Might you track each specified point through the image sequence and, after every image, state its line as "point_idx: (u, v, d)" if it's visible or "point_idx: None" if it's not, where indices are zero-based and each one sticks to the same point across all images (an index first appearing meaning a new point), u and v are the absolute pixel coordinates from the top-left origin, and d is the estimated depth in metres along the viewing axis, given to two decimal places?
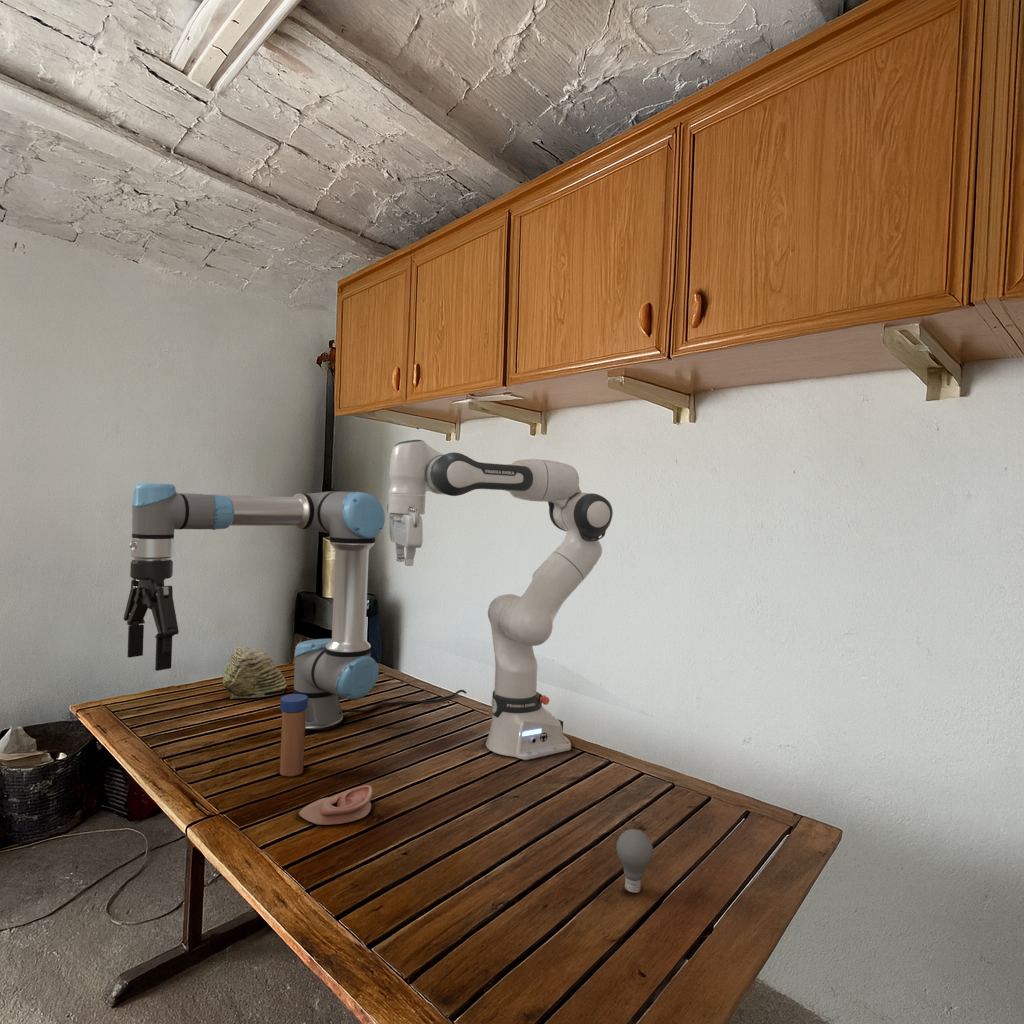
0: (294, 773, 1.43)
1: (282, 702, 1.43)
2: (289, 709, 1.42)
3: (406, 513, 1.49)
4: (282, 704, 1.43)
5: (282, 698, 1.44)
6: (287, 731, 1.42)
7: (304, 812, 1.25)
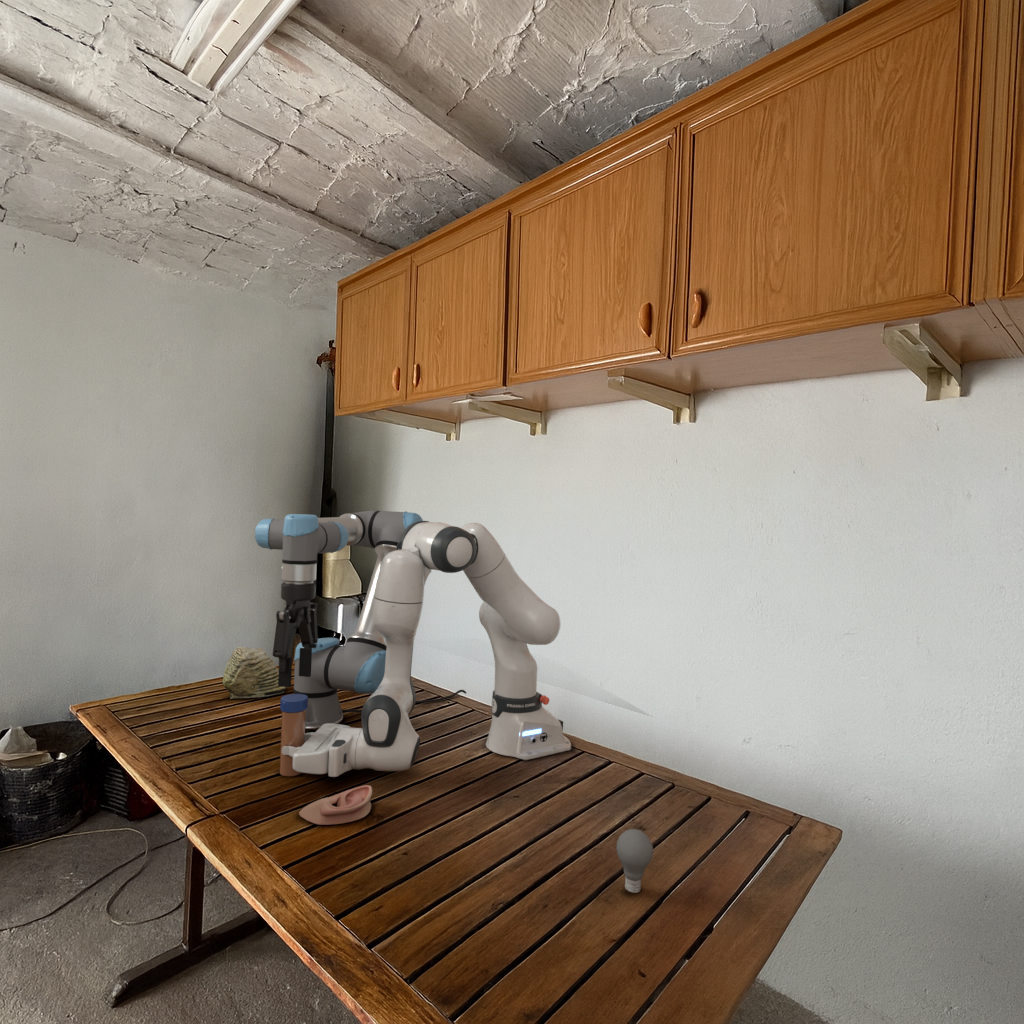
0: (294, 773, 1.43)
1: (282, 702, 1.43)
2: (289, 709, 1.42)
3: None
4: (282, 704, 1.43)
5: (282, 698, 1.44)
6: (287, 731, 1.43)
7: (304, 812, 1.25)
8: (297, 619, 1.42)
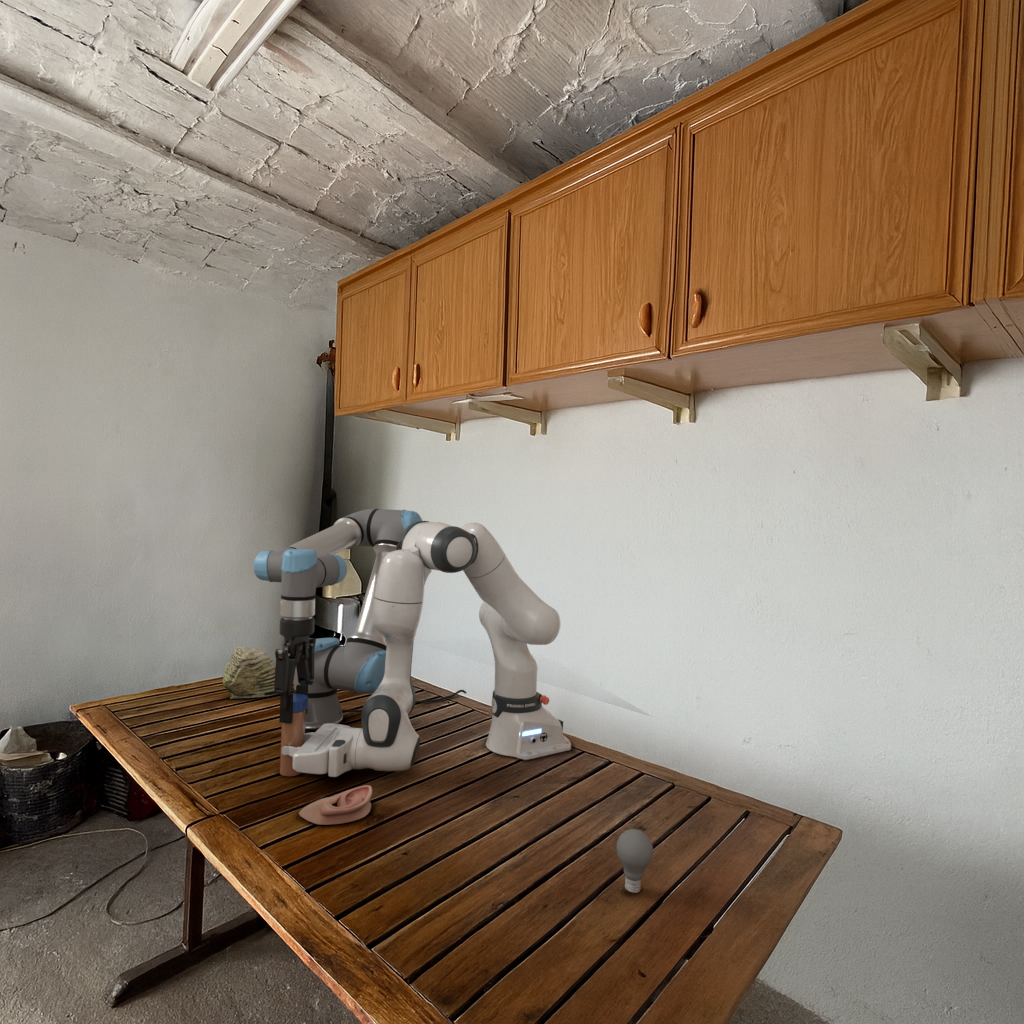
0: (294, 773, 1.43)
1: None
2: None
3: None
4: None
5: None
6: (287, 731, 1.43)
7: (304, 812, 1.25)
8: (296, 655, 1.42)
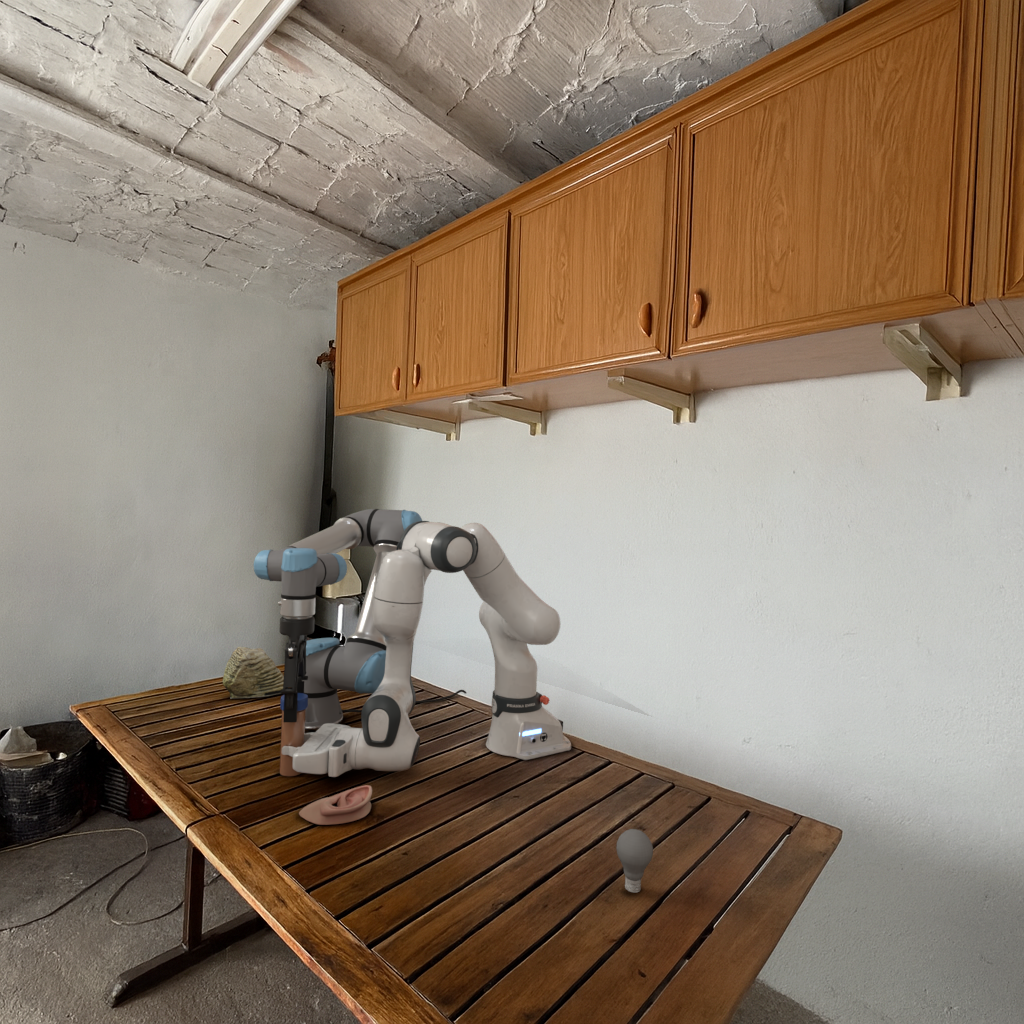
0: (294, 773, 1.43)
1: (301, 701, 1.43)
2: (307, 704, 1.45)
3: None
4: (301, 703, 1.43)
5: None
6: (287, 731, 1.43)
7: (304, 812, 1.25)
8: (301, 654, 1.42)
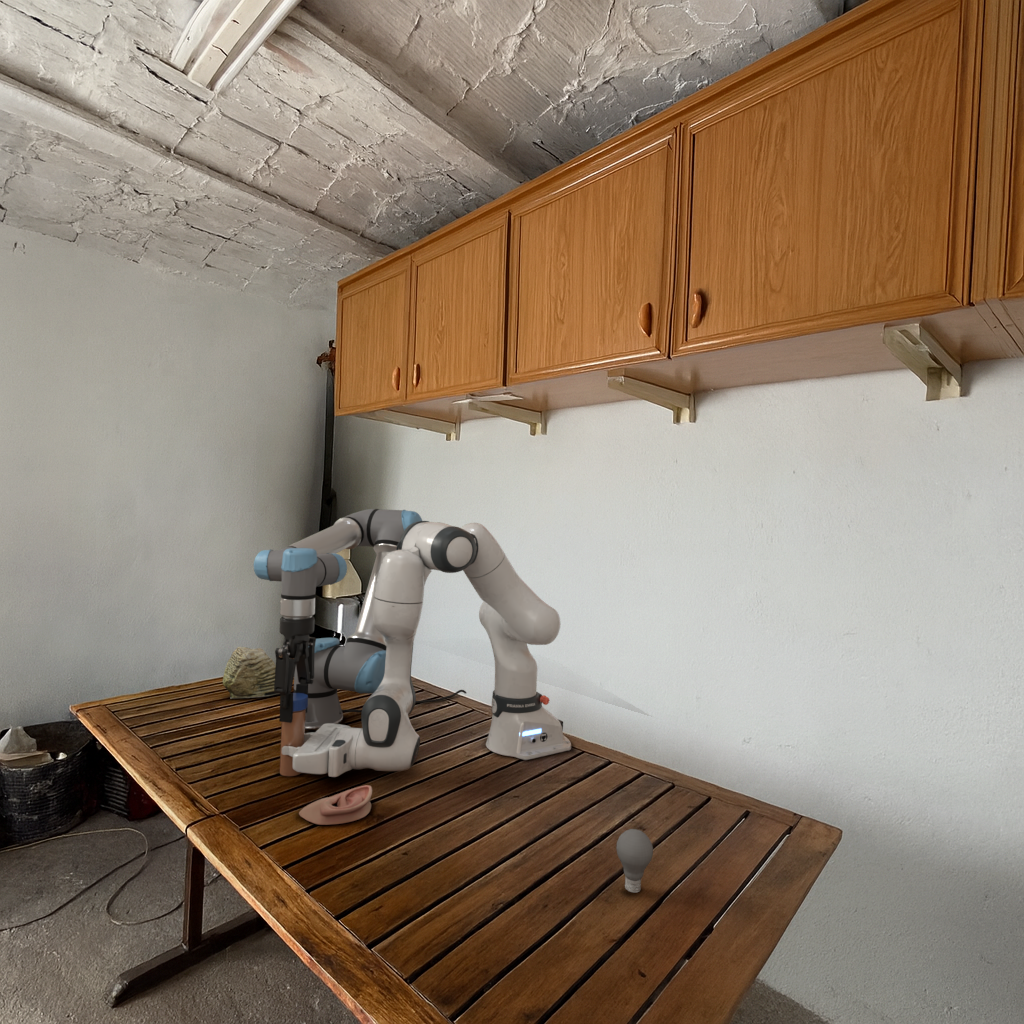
0: (294, 773, 1.43)
1: (301, 701, 1.43)
2: (307, 704, 1.45)
3: None
4: (301, 703, 1.43)
5: (294, 700, 1.43)
6: (287, 731, 1.42)
7: (304, 812, 1.25)
8: (296, 654, 1.42)
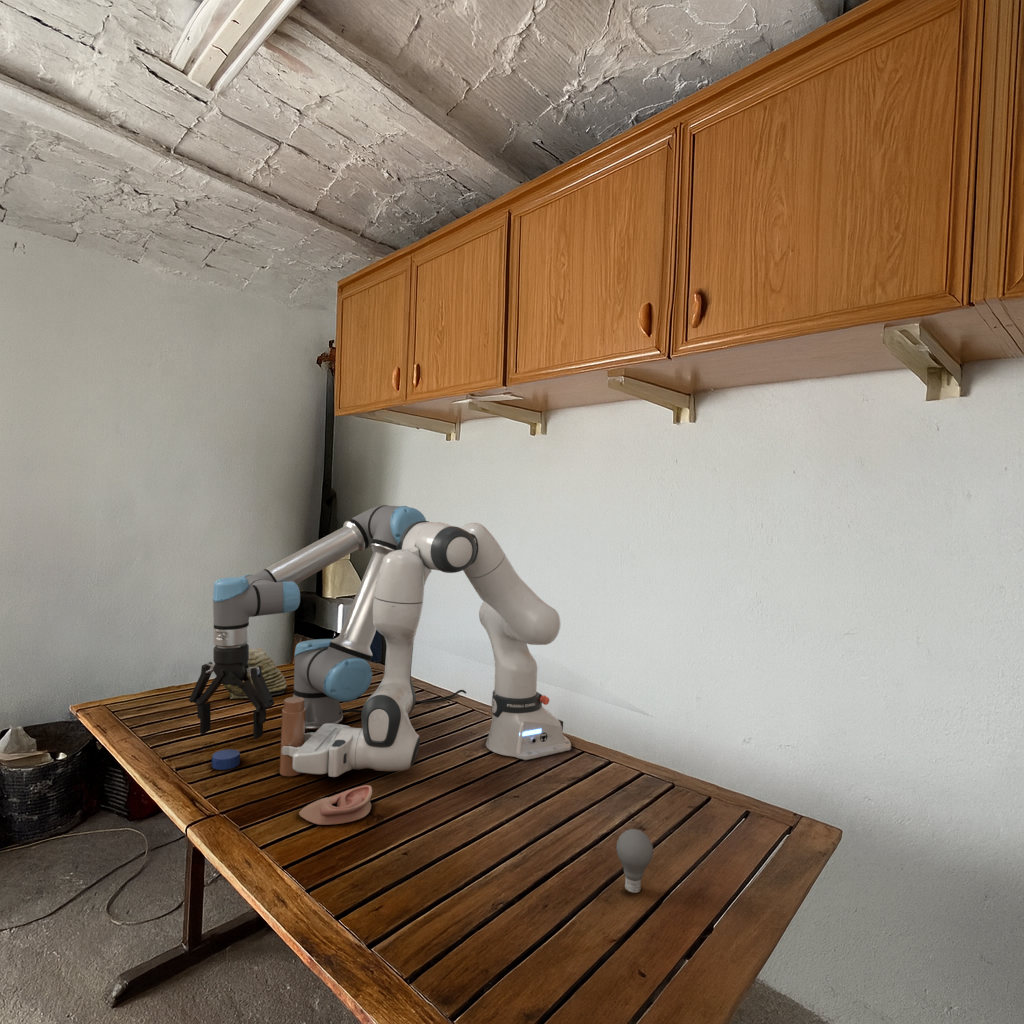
0: (294, 773, 1.43)
1: None
2: None
3: None
4: None
5: (238, 752, 1.48)
6: (287, 731, 1.42)
7: (304, 812, 1.25)
8: (246, 675, 1.48)
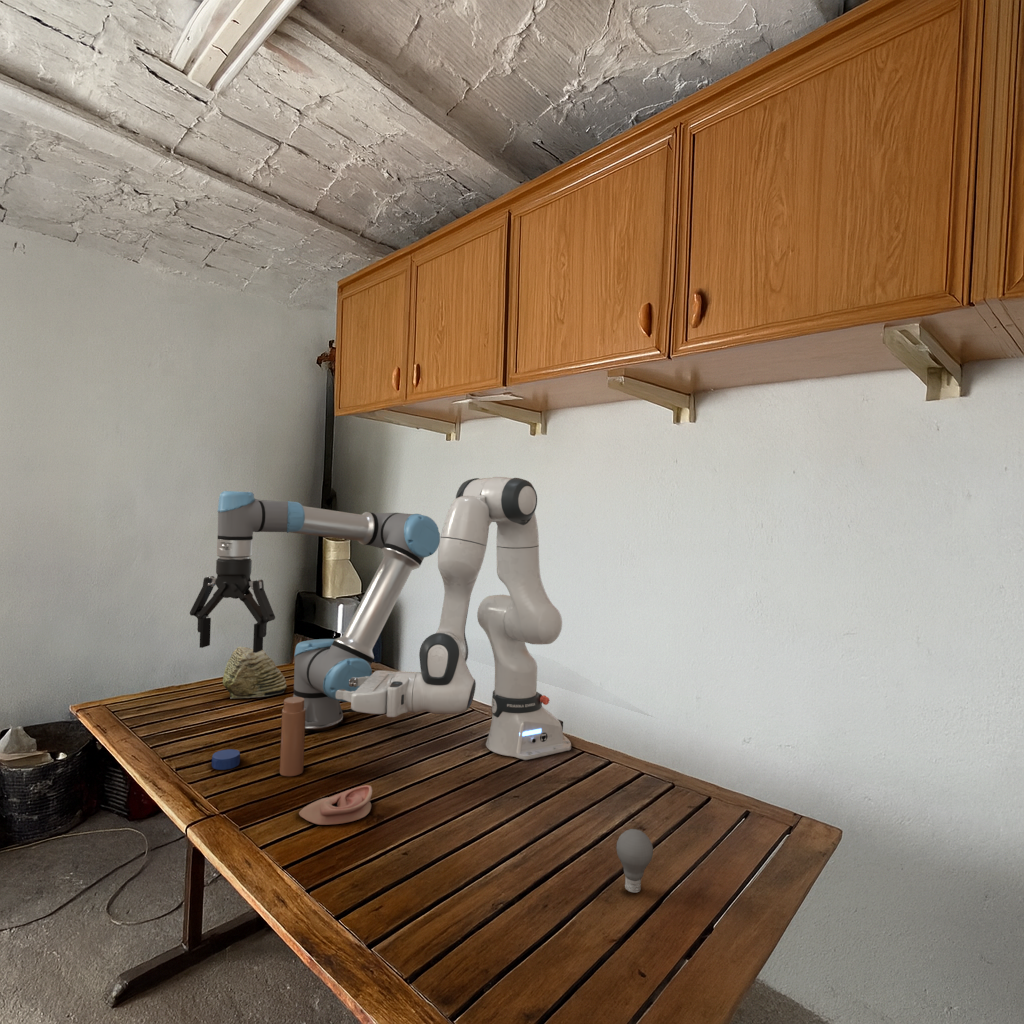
0: (294, 773, 1.43)
1: None
2: None
3: None
4: None
5: (238, 752, 1.48)
6: (287, 731, 1.42)
7: (304, 812, 1.25)
8: (248, 590, 1.48)
